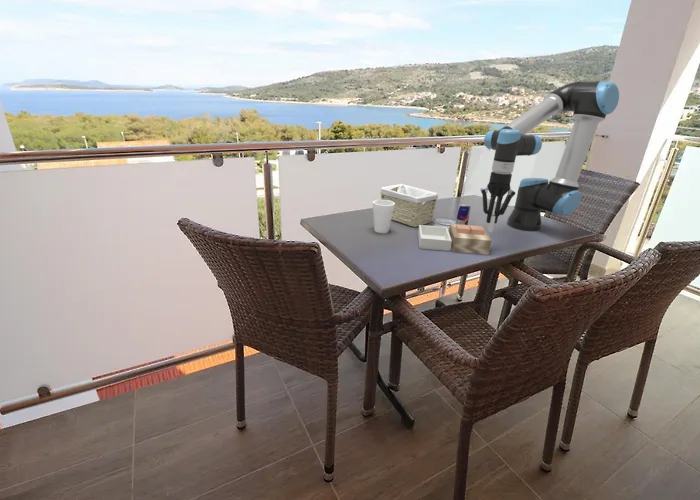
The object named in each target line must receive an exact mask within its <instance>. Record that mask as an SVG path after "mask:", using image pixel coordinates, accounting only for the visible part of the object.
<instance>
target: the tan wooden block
mask: <svg viewBox="0 0 700 500" xmlns="http://www.w3.org/2000/svg"><path fill="white" fill-rule="evenodd" d="M455 227H456V225H455V223H454V224H453V223H451V224H449V229H448V231H449V234H450V237H451V240H452V242H451V251H452V252H454V253H455V252H456V253H466V254H477V255H485V256H486V255H490V251H491V247H492V242H493V240H492V239H491V237H490V235H489V233H488V232H487V231H486V230H487V229H485V227H484V226H482V227H483V229H484V230H485V231H484V235H476V234H471V233H470V234H464V233H457V232H456V229H455Z"/></svg>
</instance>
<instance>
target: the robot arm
mask: <svg viewBox="0 0 700 500" xmlns="http://www.w3.org/2000/svg"><path fill="white" fill-rule="evenodd" d="M619 100H620V91H619V87H618V86H617V84H616V83H615V82H612V81H604V80H602V81H599V80H598V81H573V82H570V83H567V84H565V85H563V86H560V87H558V88H556V89H554V90H553V91H551V92H549V93H548V94H547V95H545V96H544V98H543V99H542V101H541V102H539V103H537V104H536V105H534V106H532V107H531V108H529V109H528V110H527V111H526V112H524V113H522V114H521V115H520V116H518V117H517V118H515V119H514V120H512V121H511V122H509V123H508V124H506V125H505V126H503V127H502V128H500V129H498V130H497V129H492V130H489V131H487V132H486V133H485V136H484V138H483V144H484V146H485V147H486V148H487V149H490V150H493V151H494V157H493V161H492V162H493V163H492V167H491V172H490V174H489V175H490V176H489V181H488V183H487V185H486V187H484V188H483V187H482V188H480V192H481V194H482V207H483V208H482V210H483V212H484V214H486V223H487V227H486V228H487V229H486V230H487V231H488V232H489V233H492V232H493V230H494V226H495V224H497V223H498V218H499V217H500V216H504V214H505V212H506V210H507V208H508V207H509V204H510V202H511V200H512V198H513V197H514V196H515V195H516V199H515V204H514V206H513V207H514V208H513V210H512V211H511V213H510V214H509V216H508V217H507V220H506V221H507V222H506V224H507V225H508V226H509V227H511V228H514V229H516V230H517V229H518V230H521V231H528V232H529V231H530V232H531V231H534V232H535V231H540V230H541V228H542V216H541V215H542V214H541V212H542V210H543V211H546V212H549V213H552V214H554V215H559V216H569V215H570V214H572V213H573V212H575V210H576V209H577V208H578V206H579V205H580V203H581V201H582V193H581V191H579V190H580V189H579V188H580V185H579V184H578V179H579V177H580V174H581V172H582V169H583V167H584V164H585V161H586V159H587V155H588V153H589V150H590V147H591V145H592V143H593V139H594V137H595V134H596V131H597V129H598V126H599V124H600V123H602V122H603V121H605V119H606V118H607V115H608V116H609V115H610V114H612V113H613V112H614V111H615V110H616V109H617V107H618V103H619ZM565 112H573V113H572V117H573V118H574V122H573V124H572V125H573V126H572V127H571V130H570V133H569V137H568V140H567V142H566V146H565V147H564V150H563V153H562V157H561V158H560V159H561V160H560V162H559V165H558V167H557V171H556V174H555V176H554V177H553V178H551V179H550V180H549V179H547V178H540V177H526V178H522V179H521V180H520V182H519V186H518V190H517V194H516V192H515V191H514V190H512V189H511V181H512V177H513V174H512V173H513V171H514V167H515V163H516V158H517V157H518V156H534V155H536V154H538V153H539V152H540V151H541V150H542V147H543V140H542V138H541V137H540V136H539V135H535V134H528V133H529V132H531V131H532V130H533V129H535V128H536V127H538V126H539V125H541V124H542V123H544V122H545V121H546V120H549V119H550V118H551V117H553V116H558V115H559V114H561V113H565ZM488 192H489V193H490V200H489V204H488V196H487V194H488ZM505 195H506V196H505ZM504 196H505V198H504ZM503 199H504V201H503ZM495 202H496V203H495ZM494 206H495V208H494ZM493 212H494V213H493Z"/></svg>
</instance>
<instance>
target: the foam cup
mask: <svg viewBox="0 0 700 500" xmlns="http://www.w3.org/2000/svg"><path fill="white" fill-rule="evenodd" d="M394 207H395V203H394V202H392V201H389V200H381V199H376V200H373V201H372V213H373V229H374V230H373V231H374V232H375V233H378V234H387V233H389V230H390V227H391V222H392V214H393V210H394Z"/></svg>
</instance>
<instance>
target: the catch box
mask: <svg viewBox="0 0 700 500" xmlns="http://www.w3.org/2000/svg"><path fill="white" fill-rule="evenodd" d="M417 239H418V247H419V250H420V249H421V250H432V251H442V252H443V251H444V252H451V250H452V248H451V242H452V240H451V237H450V234H449V229H448V227H447V226H435V225H426V224H423V225H419V226H418V231H417Z"/></svg>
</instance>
